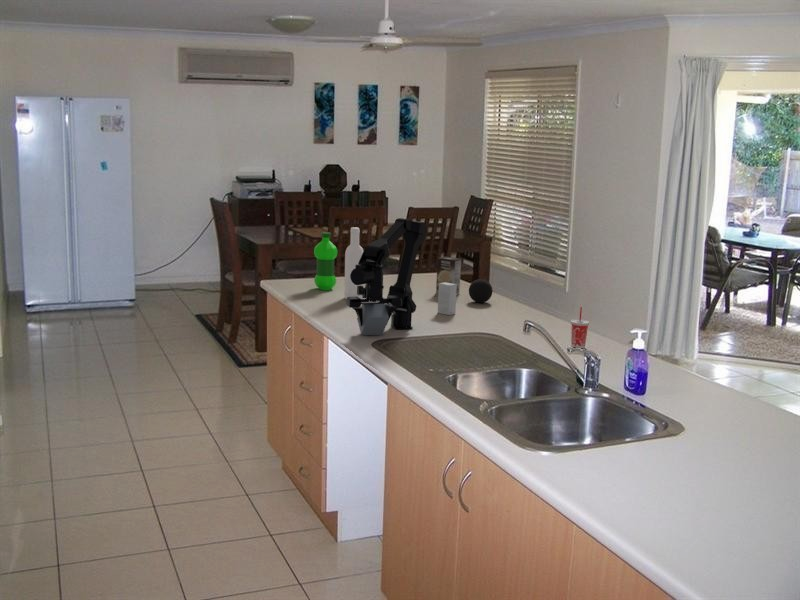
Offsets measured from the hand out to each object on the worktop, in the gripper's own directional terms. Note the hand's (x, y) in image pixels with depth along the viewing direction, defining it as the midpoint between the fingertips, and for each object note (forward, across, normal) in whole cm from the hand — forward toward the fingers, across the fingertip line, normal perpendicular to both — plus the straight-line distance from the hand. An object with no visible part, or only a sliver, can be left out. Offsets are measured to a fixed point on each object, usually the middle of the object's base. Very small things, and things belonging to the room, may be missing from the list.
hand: (373, 325), depth 295 cm
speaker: (+4, -61, -49) cm, 78 cm away
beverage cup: (+4, -65, +27) cm, 70 cm away
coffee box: (+4, -54, -69) cm, 88 cm away
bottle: (+4, -10, -65) cm, 66 cm away
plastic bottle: (+4, -3, -88) cm, 88 cm away
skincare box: (+4, -39, -31) cm, 50 cm away
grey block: (+1, 0, -4) cm, 4 cm away
